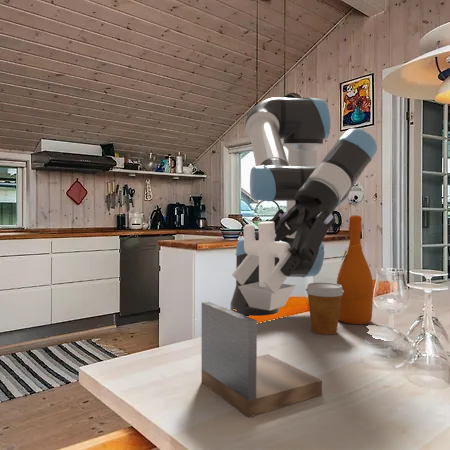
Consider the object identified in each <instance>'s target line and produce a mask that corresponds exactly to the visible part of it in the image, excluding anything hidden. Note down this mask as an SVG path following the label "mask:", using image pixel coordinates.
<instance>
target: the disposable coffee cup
mask: <svg viewBox="0 0 450 450" xmlns="http://www.w3.org/2000/svg"><path fill="white" fill-rule="evenodd" d="M305 291H306V293H307V299H308V300H307V301H308V306H309V307H308V308H309V309H308V310H309V316H310V325H311V332H312V333H314V334H317V335H324V336H329V335H330V336H331V335H335V334H337V333H338V326H339V312H340V305H341V298H342V295H343V292H344V291H343V289H342V286H341V285H339V284H337V283H333V282H311V283H307V286H306V288H305Z"/></svg>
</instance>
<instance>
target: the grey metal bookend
mask: <svg viewBox="0 0 450 450" xmlns="http://www.w3.org/2000/svg"><path fill="white" fill-rule="evenodd" d="M257 330H258V320H257V319H254V318H252V317H250V316H248V315H242V314H239V313H237V312H234V311H232V310H230V309H229V308H226V307H223V306H221V305H219V304H216V303H213V302H210V301H205V302H204V301H203V302H201V370H202V369H203V370H204V371H206V372H207V373H209V374H210V375H212V376H213V377H214V378H216V379H217V380H219V381H220V382H222V383H223V384H225V385H226V386H227V387H229V388H230V389H232V390H233V391H235V392H236V393H237V394H239V395H240V396H242V397H243V398H245V399H246V400H248V401H250V400H253V399H256V368H257V357H258V356H257V349H258V348H257V347H258V346H257V341H258V340H257V335H258V331H257Z"/></svg>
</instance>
